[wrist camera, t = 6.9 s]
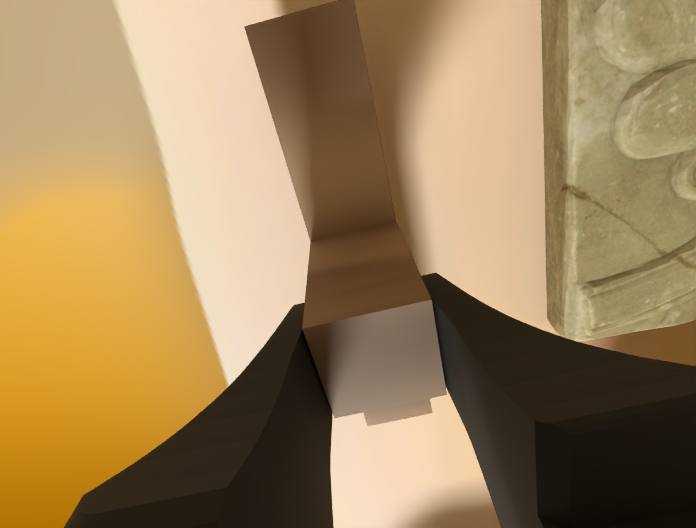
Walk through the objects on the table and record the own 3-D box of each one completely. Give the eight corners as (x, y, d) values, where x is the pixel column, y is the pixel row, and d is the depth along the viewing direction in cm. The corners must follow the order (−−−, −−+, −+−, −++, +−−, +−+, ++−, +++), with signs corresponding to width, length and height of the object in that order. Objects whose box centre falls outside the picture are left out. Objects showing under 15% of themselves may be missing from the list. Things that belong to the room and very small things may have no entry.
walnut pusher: (418, 366, 20) (468, 532, 13) (362, 378, 20) (381, 548, 13) (347, 12, 13) (372, -64, 6) (261, 35, 13) (180, -8, 6)
